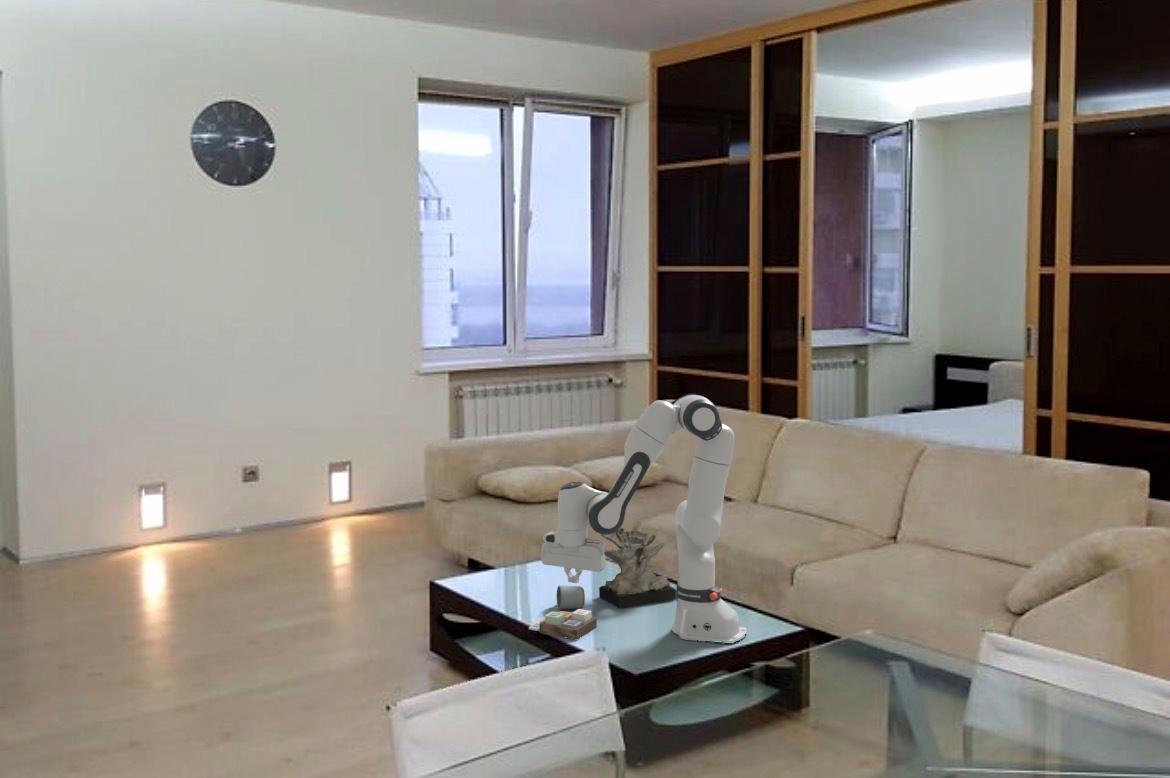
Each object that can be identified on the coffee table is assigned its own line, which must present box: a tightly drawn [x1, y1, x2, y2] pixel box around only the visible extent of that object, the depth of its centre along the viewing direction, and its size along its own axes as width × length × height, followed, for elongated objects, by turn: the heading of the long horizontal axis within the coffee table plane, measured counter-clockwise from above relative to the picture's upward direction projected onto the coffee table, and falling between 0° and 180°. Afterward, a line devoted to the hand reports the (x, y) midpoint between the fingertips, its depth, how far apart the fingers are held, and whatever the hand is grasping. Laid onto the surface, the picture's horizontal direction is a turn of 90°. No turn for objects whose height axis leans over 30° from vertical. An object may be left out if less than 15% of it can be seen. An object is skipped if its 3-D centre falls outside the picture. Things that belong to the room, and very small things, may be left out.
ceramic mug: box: [556, 585, 586, 611], centre depth 372 cm, size 11×8×8 cm
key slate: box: [563, 620, 582, 629], centre depth 346 cm, size 4×4×4 cm
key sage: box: [544, 610, 565, 626], centre depth 348 cm, size 4×4×4 cm
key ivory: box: [571, 608, 593, 623], centre depth 351 cm, size 4×4×4 cm
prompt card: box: [528, 617, 545, 632], centre depth 354 cm, size 3×10×1 cm, turn 153°
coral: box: [598, 527, 676, 609], centre depth 382 cm, size 25×20×22 cm
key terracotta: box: [558, 610, 573, 620], centre depth 354 cm, size 4×4×4 cm
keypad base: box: [538, 611, 598, 640], centre depth 350 cm, size 13×13×3 cm
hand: (573, 582), depth 344 cm, fingers closed
